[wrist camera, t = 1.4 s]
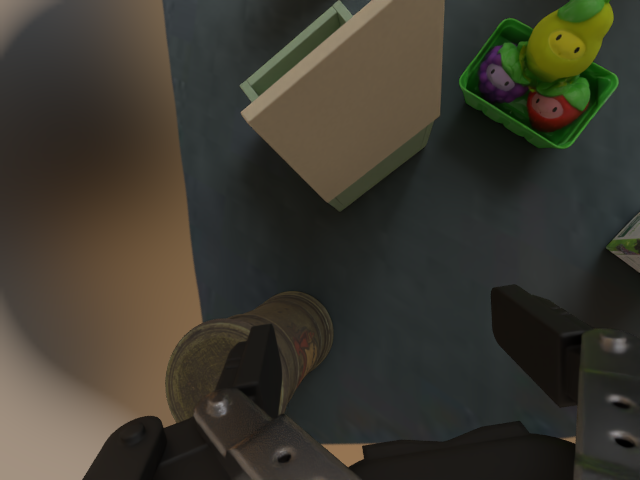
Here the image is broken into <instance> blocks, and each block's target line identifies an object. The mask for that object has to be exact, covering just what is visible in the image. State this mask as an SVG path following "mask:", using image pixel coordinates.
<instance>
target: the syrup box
mask: <svg viewBox="0 0 640 480" xmlns="http://www.w3.org/2000/svg"><path fill="white" fill-rule="evenodd" d="M606 249H608V250H609V251H611V252H612V253H613V254H615V255H616V256H617V257H619V258H620V259H622V260H623V261H624V262H626V263H627V264H628V265H630V266H631V267H633V268H634V269H635V270H636V271H638V272H639V273H640V212H639V213H638V214H637V215H636V216H635V217H634V218H633V219H632V220H631V221H630V222H629V223H628V224H627V225H626V226H625V227H624V228H623V229H622V230H621V231H620V232H619V233H618V235H617V236H616V237H615V238H614V239H613V240H612V241H611V242H610V243H609V244H608V245H607V246H606Z"/></svg>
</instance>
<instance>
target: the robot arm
mask: <svg viewBox="0 0 640 480" xmlns="http://www.w3.org/2000/svg"><path fill="white" fill-rule="evenodd" d="M491 309H492V329H493V334H494V337H495V339H496V341H497V343H498V344H499V345H500V347H501V348H502V349H503V350H504V351H505V352H506V353H507V354H508V355H509V356H510V357H511V358H512V359H513V360H514V361H515V362H516V363H517V364H518V365H519V366H520V367H521V368H522V369H523V370H524V371H525V372H526V373H527V374H528V375H529V376H530V377H531V378H532V380H533V381H534V382H535V383H536V384H537V385H538V386H539V387H540V388H541V389H542V390H543V391H544V392H545V393H546V394H547V395H548V396H549V397H550V398H551V399H552V400H553V401H554V402H555V403H556V404H557V405H558V406H559V407H560V408H561V407H567V406H574V405H577V425H576V444H574V443H572V442H569V441H566V440H563V439H559V438H556V437H551V436H547V435H540V434H531V433H529V432H528V431H527V429H526V428H525V427H524V425H523V424H522V423H521V422H520V421H516V422H509V423H503V424H497V425H491V426H484V427H480V428H477V429H475V430H473V431H470V432H468V433H465V434H463V435H460V436H458V437H455V438H453V439H451V440H448V441H444V442H437V441H416V440H396V441H390V442H384V443H377V444H371V445H365V446H362V448H363V455H364V459H363V460H361V461H359V462H357V463H355V464H353V465H351V466H350V467H347V466H346V465H344V464H343V463H342V462H341V461H340V460H338V459H337V458H336V457H335V456H334V455H333V454H331V453H330V452H329V451H328V450H327V449H326V448H324V447H323V446H322V445H321V444H320V443H318V442H317V441H316V440H315V439H314V438H313V437H311V436H310V435H309V434H308V433H307V432H306V431H304V430H303V429H302V428H301V427H300V426H298V425H297V424H296V423H295V422H294V421H293V420H291V419H290V418H289V417H288V416H286V415H285V414H280V415H278V414H279V405H280V396H281V387H282V365H281V359H280V355H279V350H278V345H277V340H276V336H275V331H274V327H273V324H272V323H270V324H264V325H258V326H252V327H251V329H250V333H249V336H248V339H247V341H243V342H238V343H237V344H236V345H235V346H234V347H233V348H232V349H231V350H230V352H229V354H228V357H227V360H226V362H225V365H224V369H223V370H222V373H221V375H220V378H219V381H218V383H217V386H216V388H215V391H213V392H211V393H209V394H208V395H206V396H205V397H203V398H202V399H201V400H200V401H199V402H198V403H197V405H196V406H195V408H194V412H193V414H194V416H192V417H190V418H189V419H186V420H184V421H181V422H179V423H176V424H174V425H171V426H168V427H166V428H163V425H162V422H161V420H160V419H159V418H158V417H155V416H145V417H140V418H137V419H134V420H132V421H130V422H128V423H126V424H124V425H123V426H121V427H120V428H118V429H117V430H116V431H115V432H114V433H112V434H111V436H110V437H109V438H108V439H107V441H106V442H105V444H104V445H103V447H102V449H101V451H100V452H99V454H98V455H97V457H96V459H95V460H94V462H93V463H92V465H91V467H90V468H89V470H88V471H87V473H86V475H85V476H84V478H83V479H82V480H640V338H639V337H637V336H635V335H633V334H630V333H628V332H624V331H620V330H616V329H608V328H596V329H594V328H592V327H591V326H589V325H588V324H586V323H584V322H583V321H581V320H580V319H578V318H576V317H575V316H573V315H572V314H569V312H567V311H565V310H564V309H562V308H560V307H559V306H557V305H556V304H554V303H553V302H551V301H550V300H547V299H544V298H541V297H538V296H535V295H531V294H529V293H528V292H526V291H525V290H523V289H522V288H520V287H519V286H517V285H515V284H514V285H508V286H502V287H495V288H493V289H492V291H491Z"/></svg>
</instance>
